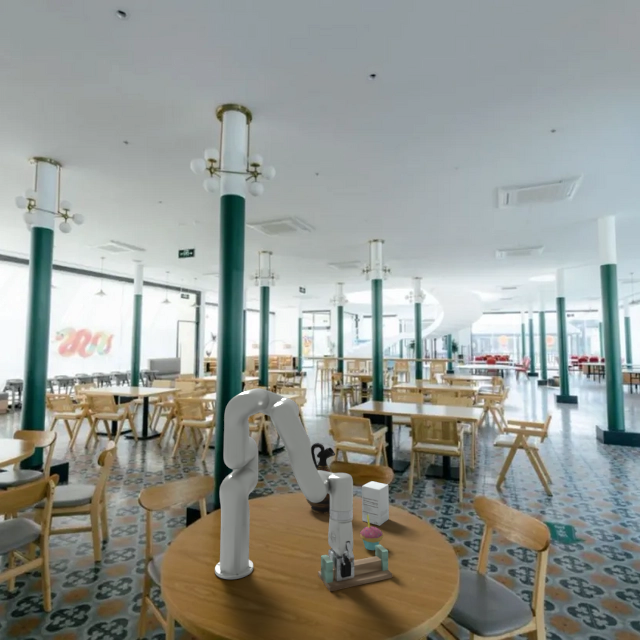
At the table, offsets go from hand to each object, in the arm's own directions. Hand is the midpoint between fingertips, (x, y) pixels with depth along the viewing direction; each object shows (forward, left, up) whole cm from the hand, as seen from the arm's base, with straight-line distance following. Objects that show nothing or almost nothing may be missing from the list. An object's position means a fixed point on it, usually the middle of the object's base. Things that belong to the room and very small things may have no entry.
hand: (341, 570), depth 133 cm
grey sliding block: (0, 0, -1) cm, 1 cm away
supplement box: (-38, +34, -3) cm, 51 cm away
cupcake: (-16, +20, -3) cm, 26 cm away
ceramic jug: (-58, +16, -3) cm, 60 cm away
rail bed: (0, +5, -3) cm, 6 cm away
